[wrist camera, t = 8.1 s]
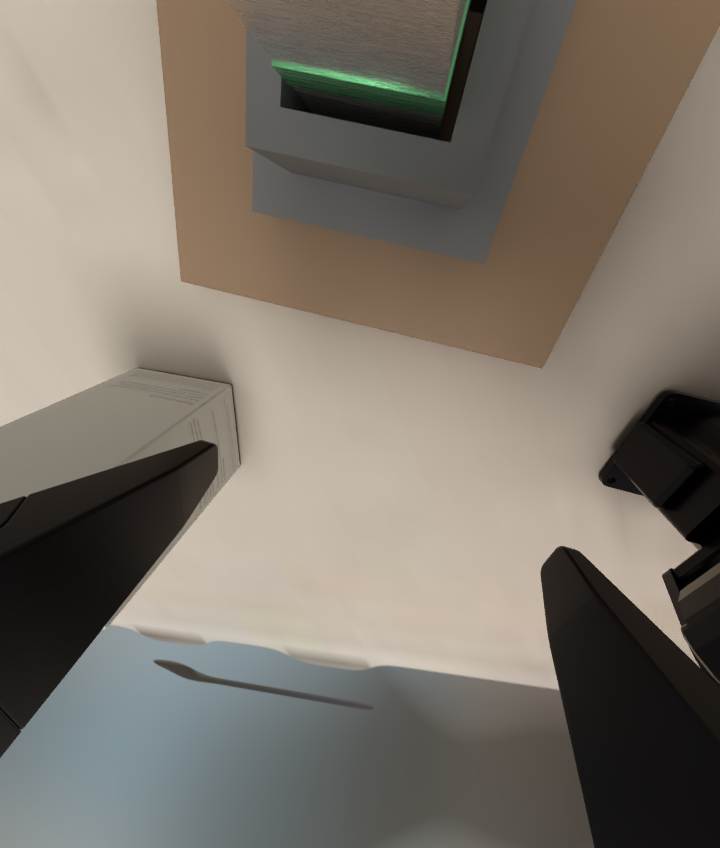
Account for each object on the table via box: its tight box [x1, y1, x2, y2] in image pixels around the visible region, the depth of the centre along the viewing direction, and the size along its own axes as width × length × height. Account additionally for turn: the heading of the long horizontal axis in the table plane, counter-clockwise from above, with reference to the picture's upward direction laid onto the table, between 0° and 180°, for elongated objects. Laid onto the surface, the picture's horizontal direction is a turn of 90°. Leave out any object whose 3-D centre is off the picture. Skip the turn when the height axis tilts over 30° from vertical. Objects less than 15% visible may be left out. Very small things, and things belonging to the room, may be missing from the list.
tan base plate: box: [157, 0, 720, 368], centre depth 10 cm, size 20×18×7 cm
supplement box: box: [0, 368, 240, 630], centre depth 18 cm, size 7×7×13 cm
